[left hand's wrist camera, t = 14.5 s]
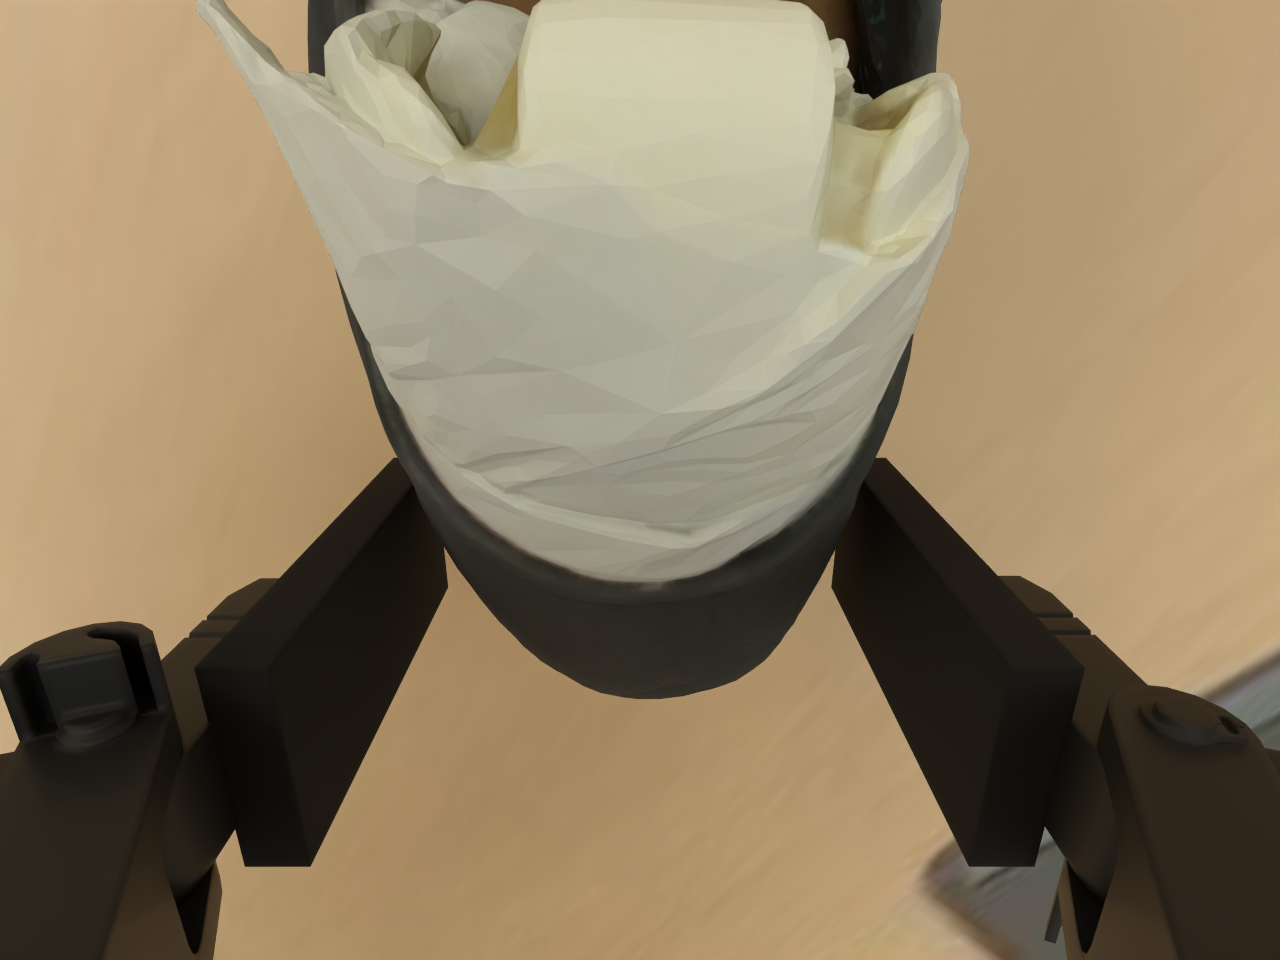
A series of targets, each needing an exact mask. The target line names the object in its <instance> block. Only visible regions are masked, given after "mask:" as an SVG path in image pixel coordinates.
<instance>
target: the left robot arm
mask: <svg viewBox="0 0 1280 960" xmlns="http://www.w3.org/2000/svg"><path fill="white" fill-rule="evenodd" d="M447 588H448V582H447V573H446V563H445V554H444V546H443V544H442V542H441V541H440V539H439V538H438V536H437V534H436V533H435V531H434V529H433V527H432V525H431V523H430V522H429V520H428V518H427V516H426V514H425V512H424V510H423V508H422V506H421V504H420V502H419V499H418V496H417V494H416V491H415V488H414V485H413V483H412V481H411V479H410V477H409V476H408V474H407V472H406V471H405V469H404V468H403V466H402V464H401V463H400V461H399V459H398V458H393V459H392V460H391V461H390V462H389V463H388V464H387V465H386V467H385V468H384V469H383V470H382V471H381V472H380V473H379V474H378V475H377V476H376V477H375V478H374V479H373V480H372V481H371V482H370V483H369V484H368V486H367V487H366V488H365V489H364V490H363V491H362V492H361V493H360V494H359V495H358V496H357V497H356V498H355V499H354V500H353V501H352V502H351V503H350V504H349V506H348V507H347V508H346V509H345V510H344V511H343V512H342V513H341V514H340V515H339V516H338V517H337V518H336V519H335V520H334V521H333V522H332V523H331V524H330V526H329V527H328V528H327V529H326V530H325V531H324V532H323V533H322V534H321V535H320V536H319V537H318V538H317V539H316V540H315V541H314V542H313V543H312V544H311V546H310V547H309V548H308V549H307V550H306V551H305V552H304V553H303V554H302V555H301V556H300V557H299V558H298V559H297V560H296V561H295V562H294V563H293V564H292V566H291V567H290V568H289V569H288V570H287V571H286V572H285V573H284V574H283V575H282V576H281V577H280V578H260V579H258V580H256V581H255V582H253V583H251V584H249V585H247V586H245V587H244V588H242V589H240V590H238V591H236V592H234V593H233V594H231V595H229V596H228V597H227V598H226V599H225V600H223V601H222V602H221V603H220V604H219V605H218V606H217V607H216V608H215V609H214V610H213V611H212V612H211V613H210V614H209V615H208V616H207V620H203V621H202V622H201V623H200V624H199V625H198V626H197V627H195V628H194V629H193V630H192V631H191V632H190V633H189V634H190V636H189V638H184V639H183V640H182V641H181V642H180V643H179V644H178V645H177V646H176V647H175V648H174V649H173V650H172V651H171V652H170V653H169V654H168V655H166V656H165V657H164V658H163V659H162V660H160V656H159V652H158V649H157V645H156V641H155V638H154V634H153V631H152V630H150V629H148V628H147V627H145V626H144V625H142V624H138V623H130V622H122V621H118V622H108V623H97V624H91V625H87V626H83V627H79V628H75V629H71V630H67V631H63V632H60V633H58V634H55V635H53V636H50V637H48V638H45V639H43V640H40V641H37V642H35V643H33V644H31V645H30V646H28V647H26V648H24V649H23V650H21V651H19V652H18V653H16V654H14V655H12V656H11V657H9V658H8V659H7V660H6V661H5V662H4V663H3V664H2V665H1V666H0V689H1V692H2V695H3V697H4V700H5V703H6V705H7V708H8V711H9V713H10V716H11V719H12V722H13V724H14V727H15V730H16V732H17V735H18V738H19V740H20V742H19V744H18V746H17V748H16V750H15V752H11V753H6V754H0V960H213V956H214V949H215V941H216V934H217V926H218V919H219V912H220V904H221V897H222V887H221V880H220V875H219V871H218V867H217V864H216V858H217V856H218V855H219V853H220V852H221V850H222V849H223V847H224V846H225V844H226V842H227V841H228V839H229V838H230V836H231V835H232V833H233V832H234V830H236V833H237V837H238V841H239V845H240V849H241V853H242V857H243V861H244V865H245V867H310V866H311V864H312V862H313V860H314V858H315V856H316V854H317V852H318V850H319V848H320V846H321V844H322V842H323V840H324V838H325V836H326V834H327V832H328V830H329V828H330V826H331V824H332V822H333V820H334V818H335V816H336V814H337V812H338V810H339V808H340V806H341V804H342V801H343V799H344V797H345V795H346V793H347V791H348V789H349V787H350V785H351V783H352V781H353V779H354V777H355V775H356V773H357V771H358V769H359V767H360V765H361V763H362V761H363V759H364V757H365V755H366V753H367V751H368V749H369V747H370V745H371V743H372V741H373V739H374V737H375V735H376V732H377V730H378V728H379V726H380V724H381V722H382V720H383V718H384V716H385V714H386V712H387V710H388V708H389V706H390V704H391V702H392V700H393V698H394V696H395V694H396V692H397V690H398V688H399V686H400V684H401V682H402V680H403V678H404V676H405V674H406V672H407V670H408V668H409V666H410V663H411V661H412V659H413V657H414V655H415V653H416V651H417V649H418V647H419V645H420V643H421V641H422V639H423V637H424V635H425V633H426V631H427V629H428V627H429V625H430V623H431V621H432V619H433V617H434V615H435V613H436V611H437V609H438V607H439V605H440V603H441V601H442V599H443V597H444V595H445V592H446V590H447ZM832 589H833V591H834V593H835V595H836V598H837V600H838V602H839V604H840V606H841V608H842V610H843V612H844V614H845V616H846V618H847V620H848V622H849V624H850V626H851V628H852V630H853V632H854V634H855V636H856V638H857V640H858V642H859V644H860V646H861V648H862V650H863V652H864V654H865V656H866V658H867V660H868V662H869V665H870V667H871V669H872V671H873V673H874V675H875V677H876V679H877V681H878V683H879V685H880V687H881V689H882V691H883V693H884V695H885V697H886V699H887V701H888V703H889V705H890V707H891V709H892V711H893V713H894V715H895V717H896V719H897V721H898V723H899V725H900V727H901V729H902V731H903V734H904V736H905V738H906V740H907V742H908V744H909V746H910V748H911V750H912V752H913V754H914V756H915V758H916V760H917V762H918V764H919V766H920V768H921V770H922V772H923V774H924V776H925V778H926V780H927V782H928V784H929V786H930V788H931V790H932V792H933V794H934V796H935V798H936V801H937V803H938V805H939V807H940V809H941V811H942V813H943V815H944V817H945V819H946V821H947V823H948V825H949V827H950V829H951V831H952V833H953V835H954V837H955V839H956V841H957V843H958V845H959V847H960V849H961V851H962V853H963V855H964V857H965V859H966V861H967V863H968V865H969V867H1034V866H1035V862H1036V858H1037V855H1038V851H1039V847H1040V843H1041V839H1042V835H1043V831H1044V827H1046V829H1047V830H1048V832H1049V833H1050V835H1051V836H1052V838H1053V839H1054V841H1055V842H1056V844H1057V846H1058V847H1059V849H1060V850H1061V852H1062V853H1063V855H1064V856H1065V860H1064V864H1063V867H1062V871H1061V875H1060V878H1059V882H1058V886H1057V889H1056V893H1055V897H1054V900H1053V904H1052V908H1051V911H1050V915H1049V919H1048V922H1047V927H1046V933H1045V939H1044V940H1046V941H1049V942H1052V943H1056V940H1057V936H1058V933H1059V929H1060V927H1061V926H1063V932H1064V939H1065V947H1066V954H1067V960H1280V751H1277V750H1272V749H1267V748H1264V746H1263V745H1262V743H1261V741H1260V740H1259V739H1258V737H1257V736H1256V735H1255V734H1254V733H1253V732H1252V730H1251V729H1250V728H1249V727H1248V726H1247V725H1246V724H1245V723H1244V722H1242V721H1241V720H1239V719H1238V718H1237V717H1235V716H1234V715H1232V714H1231V713H1229V712H1228V711H1226V710H1225V709H1223V708H1222V707H1219V706H1217V705H1215V704H1213V703H1211V702H1209V701H1206V700H1204V699H1202V698H1200V697H1198V696H1195V695H1192V694H1189V693H1185V692H1182V691H1178V690H1175V689H1171V688H1168V687H1159V686H1150V685H1147V684H1146V683H1145V682H1144V681H1143V680H1142V679H1141V678H1140V677H1139V676H1138V675H1137V674H1135V673H1134V672H1133V671H1132V670H1131V669H1130V668H1129V667H1128V666H1127V665H1126V664H1125V663H1124V662H1123V661H1122V660H1121V659H1120V658H1119V657H1118V656H1117V655H1116V654H1115V653H1114V652H1112V651H1111V650H1110V649H1109V648H1108V647H1107V646H1106V645H1105V644H1104V643H1103V642H1102V641H1101V640H1100V639H1099V638H1098V637H1097V636H1096V635H1091V633H1090V632H1091V630H1090V629H1088V628H1087V627H1086V626H1085V625H1084V624H1083V623H1082V622H1081V621H1080V620H1079V619H1078V618H1073V613H1072V612H1071V611H1070V610H1069V609H1068V608H1067V607H1066V606H1064V605H1063V604H1062V603H1061V602H1060V601H1059V600H1058V599H1057V598H1056V597H1055V596H1054V595H1053V594H1052V593H1050V592H1048V591H1047V590H1045V589H1043V588H1041V587H1039V586H1037V585H1036V584H1034V583H1032V582H1030V581H1028V580H1026V579H1024V578H1023V577H1021V576H997V575H996V574H995V572H994V571H993V570H992V569H991V568H990V567H989V566H988V565H987V564H986V563H985V562H984V561H983V560H982V559H981V558H980V557H979V556H978V555H977V553H976V552H975V551H974V550H973V549H972V548H971V547H970V546H969V545H968V544H967V543H966V542H965V541H964V540H963V539H962V538H961V537H960V536H959V535H958V533H957V532H956V531H955V530H954V529H953V528H952V527H951V526H950V525H949V524H948V523H947V522H946V521H945V520H944V519H943V518H942V517H941V516H940V515H939V513H938V512H937V511H936V510H935V509H934V508H933V507H932V506H931V505H930V504H929V503H928V502H927V501H926V500H925V499H924V498H923V497H922V496H921V494H920V493H919V492H918V491H917V490H916V489H915V488H914V487H913V486H912V485H911V484H910V483H909V482H908V481H907V480H906V479H905V478H904V477H903V476H902V474H901V473H900V472H899V471H898V470H897V469H896V468H895V467H894V466H893V465H892V464H891V463H890V462H889V461H888V460H887V459H886V458H875V460H874V462H873V464H872V466H871V468H870V470H869V472H868V473H867V475H866V477H865V478H864V480H863V482H862V485H861V488H860V491H859V494H858V497H857V500H856V503H855V506H854V509H853V512H852V514H851V517H850V520H849V522H848V523H847V525H846V527H845V529H844V531H843V533H842V536H841V538H840V540H839V542H838V544H837V546H836V549H835V558H834V568H833V577H832Z"/></svg>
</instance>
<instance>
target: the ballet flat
mask: <svg viewBox="0 0 1280 960" xmlns="http://www.w3.org/2000/svg"><path fill="white" fill-rule="evenodd" d="M941 2H942V0H308V62H309V74H306V75H305V74H304V73H301V72H289V71H285V70H284V68H283V67H282V66H281V64H280V63H279V61H278V60H277V58H276V57H275V55H274V54H273V52H272V51H271V49H270V48H269V47H268V46H267V45H266V44H264V43H263V42H262V41H260V40H259V39H258V38H256V37H255V36H254V35H253V34H252V33H251V32H250V31H249V30H248V29H247V27H246V26H245V25H244V24H243V23H242V22H241V21H240V20H239V19H238V18H237V17H236V16H235V14H234V13H233V12H232V11H231V10H230V9H229V8H228V7H227V5H226V3H225V2H224V0H198V1H197V6H196V11H197V12H198V14H199V15H200V16H201V17H202V18H203V19H204V21H205V22H206V23H207V24H208V25H209V27H210V28H211V29H212V31H213V32H214V34H215V35H216V37H217V38H218V40H219V41H220V43H221V44H222V46H223V47H224V49H225V50H226V52H227V53H228V55H229V56H230V58H231V59H232V61H233V62H234V64H235V65H236V67H237V68H238V70H239V72H240V74H241V76H242V77H243V79H244V81H245V83H246V85H247V86H248V88H249V90H250V92H251V94H252V95H253V97H254V99H255V101H256V103H257V105H258V106H259V108H260V110H261V112H262V114H263V115H264V117H265V119H266V121H267V123H268V124H269V126H270V128H271V130H272V132H273V134H274V137H275V139H276V141H277V143H278V145H279V147H280V149H281V151H282V154H283V156H284V158H285V160H286V162H287V164H288V166H289V169H290V171H291V173H292V175H293V177H294V179H295V181H296V184H297V186H298V188H299V190H300V192H301V194H302V196H303V199H304V201H305V203H306V205H307V207H308V209H309V211H310V214H311V216H312V218H313V220H314V222H315V224H316V226H317V229H318V231H319V233H320V235H321V237H322V239H323V241H324V244H325V246H326V248H327V250H328V252H329V255H330V257H331V259H332V261H333V264H334V266H335V270H336V274H337V278H338V281H339V285H340V289H341V293H342V296H343V300H344V304H345V307H346V311H347V315H348V319H349V322H350V326H351V329H352V332H353V335H354V338H355V341H356V344H357V346H358V349H359V352H360V355H361V358H362V361H363V364H364V367H365V370H366V373H367V376H368V379H369V383H370V387H371V391H372V394H373V398H374V402H375V405H376V408H377V411H378V414H379V416H380V419H381V422H382V425H383V427H384V430H385V433H386V435H387V437H388V439H389V441H390V444H391V445H392V447H393V449H394V451H395V453H396V455H397V457H398V459H399V461H400V463H401V464H402V466H403V468H404V469H405V471H406V472H407V474H408V476H409V477H410V479H411V481H412V483H413V485H414V488H415V491H416V494H417V496H418V499H419V502H420V504H421V506H422V508H423V510H424V512H425V514H426V516H427V518H428V520H429V522H430V523H431V525H432V527H433V529H434V531H435V533H436V534H437V536H438V538H439V539H440V541H441V542H442V544H443V546H444V547H445V549H446V551H447V552H448V554H449V555H450V557H451V559H452V560H453V562H454V563H455V565H456V567H457V568H458V570H459V571H460V572H461V573H462V575H463V576H464V577H465V579H466V580H467V581H468V583H469V584H470V585H471V587H472V588H473V589H474V591H475V592H476V593H477V595H478V596H479V597H480V599H481V600H482V601H483V603H484V604H485V605H486V606H487V608H488V609H489V610H490V611H491V612H492V613H493V615H494V616H495V617H496V618H497V619H498V621H499V622H500V623H501V624H502V625H503V626H504V627H505V628H506V629H507V630H509V631H510V632H511V633H512V634H513V635H514V636H515V637H516V638H517V640H518V641H519V642H520V643H521V644H522V645H523V646H524V647H525V648H526V649H528V650H529V651H530V652H531V653H532V654H534V655H535V656H536V657H537V658H538V659H539V660H540V661H542V662H544V663H545V664H547V665H548V666H550V667H552V668H553V669H555V670H556V671H558V672H560V673H562V674H564V675H566V676H567V677H569V678H571V679H573V680H574V681H576V682H578V683H579V684H581V685H583V686H585V687H587V688H590V689H592V690H595V691H597V692H600V693H604V694H609V695H615V696H620V697H626V698H634V699H663V698H671V697H679V696H686V695H689V694H693V693H697V692H701V691H705V690H710V689H713V688H716V687H719V686H722V685H725V684H728V683H730V682H733V681H736V680H738V679H739V678H741V677H742V676H744V675H745V674H747V673H748V672H750V671H751V670H753V669H754V668H755V667H757V666H758V665H759V664H761V663H762V662H763V661H764V660H765V659H766V658H767V657H768V656H769V655H770V654H771V653H772V651H773V650H774V649H775V648H776V647H777V645H778V644H779V643H780V642H781V640H782V639H783V637H784V635H785V634H786V633H787V631H788V630H789V629H790V627H791V626H792V625H793V624H794V622H795V620H796V618H797V616H798V615H799V613H800V611H801V610H802V608H803V607H804V605H805V603H806V602H807V600H808V598H809V596H810V595H811V593H812V591H813V590H814V588H815V586H816V585H817V583H818V581H819V579H820V578H821V576H822V574H823V572H824V570H825V568H826V566H827V564H828V562H829V560H830V558H831V556H832V554H833V552H834V551H835V548H836V546H837V544H838V542H839V540H840V538H841V536H842V533H843V531H844V529H845V527H846V525H847V523H848V522H849V520H850V517H851V514H852V512H853V509H854V506H855V503H856V500H857V497H858V494H859V491H860V488H861V485H862V482H863V480H864V478H865V477H866V475H867V473H868V472H869V470H870V468H871V466H872V464H873V462H874V460H875V458H876V455H877V453H878V451H879V449H880V447H881V445H882V442H883V440H884V437H885V435H886V433H887V430H888V428H889V425H890V423H891V420H892V418H893V415H894V413H895V410H896V408H897V405H898V403H899V399H900V395H901V391H902V387H903V383H904V379H905V375H906V371H907V367H908V363H909V359H910V354H911V347H912V341H913V334H914V330H915V328H916V325H917V322H918V319H919V316H920V313H921V311H922V308H923V305H924V302H925V299H926V297H927V294H928V291H929V288H930V285H931V282H932V279H933V276H934V273H935V270H936V267H937V264H938V260H939V257H940V255H941V253H942V251H943V249H944V247H945V245H946V243H947V241H948V239H949V237H950V233H951V229H952V226H953V222H954V218H955V214H956V210H957V206H958V202H959V198H960V194H961V190H962V187H963V183H964V179H965V175H966V171H967V167H968V163H969V152H970V146H969V143H968V141H967V139H966V136H965V134H964V132H963V130H962V128H961V103H960V99H959V95H958V91H957V87H956V84H955V81H954V80H953V78H952V77H951V76H949V75H948V74H946V73H945V72H938V73H936V57H937V42H938V34H939V27H940V20H941Z"/></svg>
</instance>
